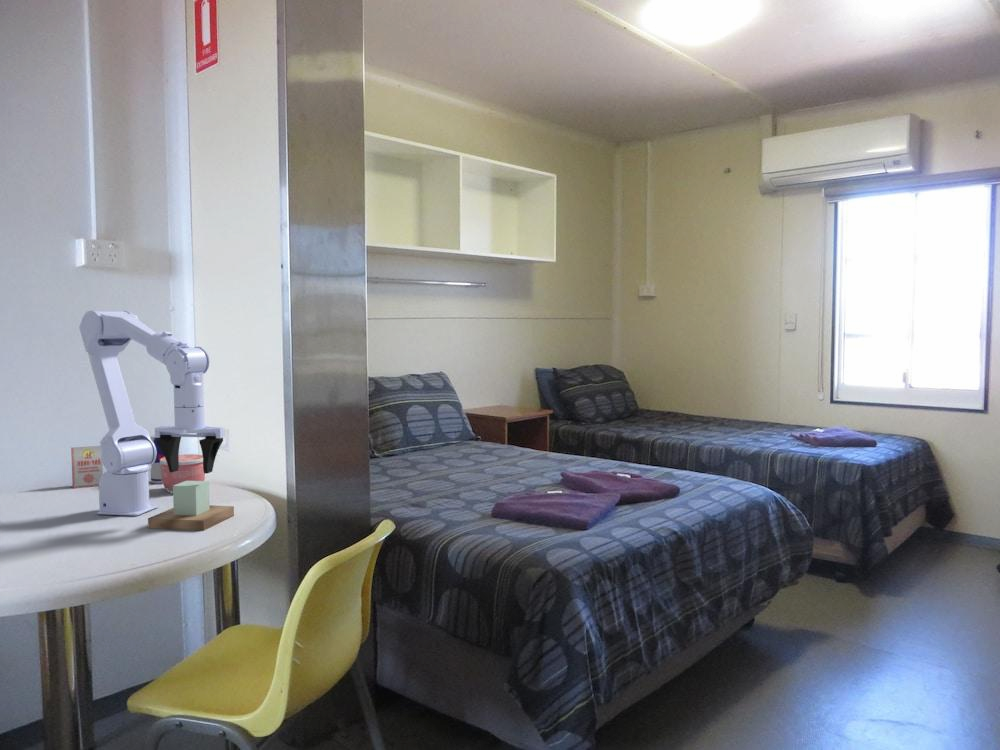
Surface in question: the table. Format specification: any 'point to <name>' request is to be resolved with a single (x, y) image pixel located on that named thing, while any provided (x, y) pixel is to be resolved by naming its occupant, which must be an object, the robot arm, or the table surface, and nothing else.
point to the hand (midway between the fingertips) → (191, 472)
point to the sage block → (191, 497)
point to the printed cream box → (86, 466)
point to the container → (183, 471)
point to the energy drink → (156, 463)
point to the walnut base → (191, 519)
